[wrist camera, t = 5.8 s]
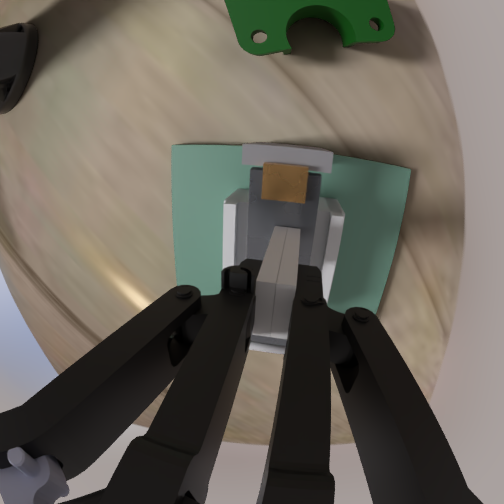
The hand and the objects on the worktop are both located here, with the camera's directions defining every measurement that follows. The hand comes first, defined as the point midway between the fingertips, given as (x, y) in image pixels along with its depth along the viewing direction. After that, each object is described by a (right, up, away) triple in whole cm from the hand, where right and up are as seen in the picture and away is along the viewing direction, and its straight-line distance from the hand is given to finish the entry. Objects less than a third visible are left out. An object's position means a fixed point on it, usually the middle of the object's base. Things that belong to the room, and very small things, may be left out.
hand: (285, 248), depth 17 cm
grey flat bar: (0, -1, +2) cm, 2 cm away
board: (+1, 0, +8) cm, 8 cm away
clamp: (+3, +19, 0) cm, 19 cm away
